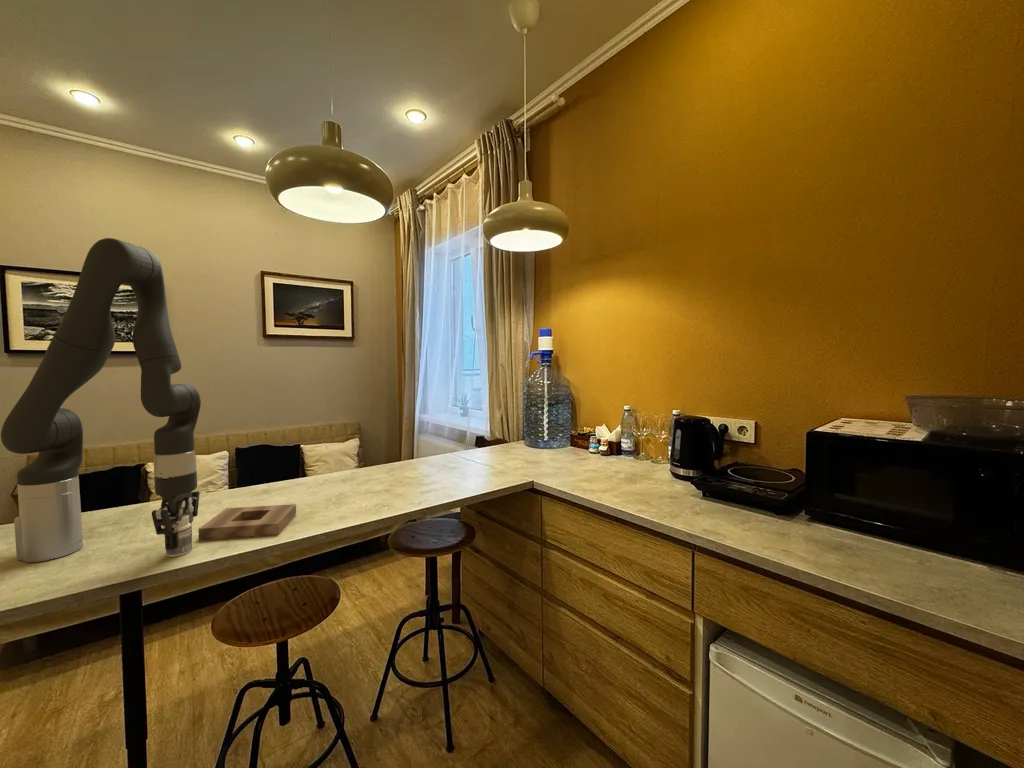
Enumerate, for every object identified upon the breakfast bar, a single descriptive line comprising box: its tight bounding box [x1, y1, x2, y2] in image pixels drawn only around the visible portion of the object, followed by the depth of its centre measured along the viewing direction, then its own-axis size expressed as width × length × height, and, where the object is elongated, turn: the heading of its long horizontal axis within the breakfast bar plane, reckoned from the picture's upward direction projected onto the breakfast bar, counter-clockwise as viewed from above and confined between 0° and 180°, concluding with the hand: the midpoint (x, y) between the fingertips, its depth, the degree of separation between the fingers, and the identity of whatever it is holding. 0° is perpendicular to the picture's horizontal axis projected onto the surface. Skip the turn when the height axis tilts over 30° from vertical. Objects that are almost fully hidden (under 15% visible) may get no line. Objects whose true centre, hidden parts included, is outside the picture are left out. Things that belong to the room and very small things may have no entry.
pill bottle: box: [165, 514, 193, 558], centre depth 93 cm, size 5×5×8 cm
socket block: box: [198, 503, 297, 541], centre depth 108 cm, size 18×14×3 cm
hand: (179, 543), depth 94 cm, fingers closed on pill bottle, 4 cm apart
